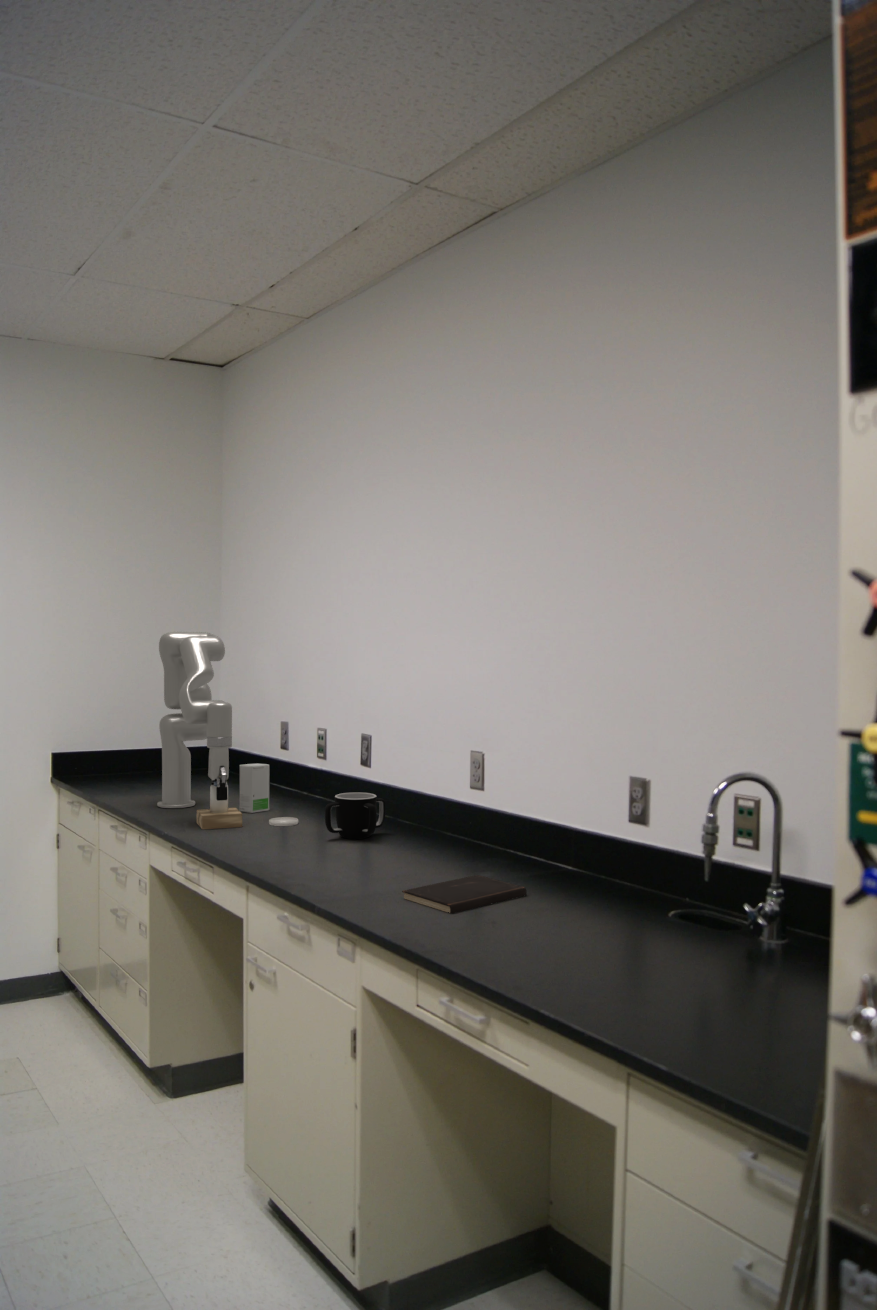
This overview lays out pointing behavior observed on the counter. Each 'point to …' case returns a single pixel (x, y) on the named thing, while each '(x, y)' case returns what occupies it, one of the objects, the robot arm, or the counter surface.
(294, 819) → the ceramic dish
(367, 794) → the mug
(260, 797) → the skincare box
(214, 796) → the reagent bottle
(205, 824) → the oak slab
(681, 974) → the counter surface
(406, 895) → the hardcover book
